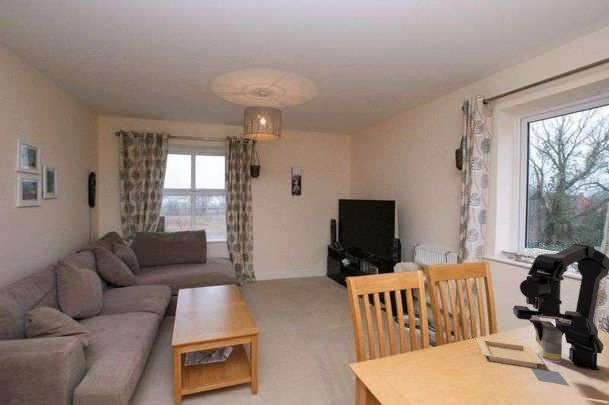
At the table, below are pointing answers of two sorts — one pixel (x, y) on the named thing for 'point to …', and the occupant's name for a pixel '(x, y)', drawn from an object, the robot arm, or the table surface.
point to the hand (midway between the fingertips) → (547, 341)
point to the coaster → (549, 376)
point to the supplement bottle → (549, 354)
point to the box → (550, 338)
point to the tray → (509, 353)
